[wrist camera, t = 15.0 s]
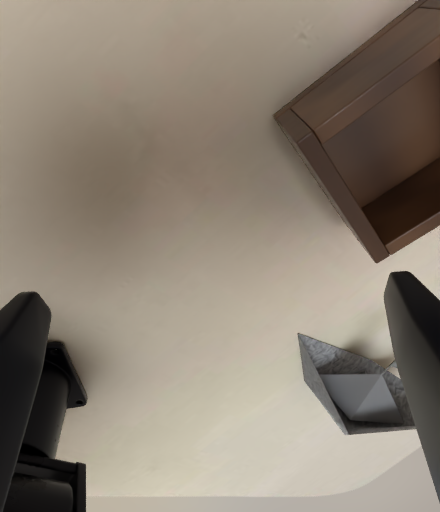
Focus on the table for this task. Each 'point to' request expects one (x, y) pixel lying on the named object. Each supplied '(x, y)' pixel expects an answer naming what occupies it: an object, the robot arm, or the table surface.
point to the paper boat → (355, 389)
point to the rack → (378, 132)
